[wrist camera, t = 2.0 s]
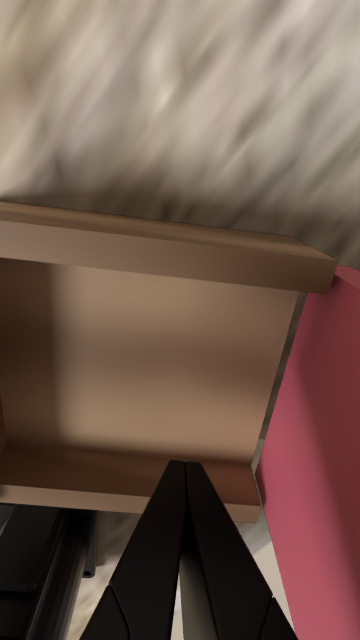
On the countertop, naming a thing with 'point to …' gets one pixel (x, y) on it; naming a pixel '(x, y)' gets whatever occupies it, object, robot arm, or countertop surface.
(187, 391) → the brown wooden drawer
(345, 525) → the panel
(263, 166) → the countertop surface
